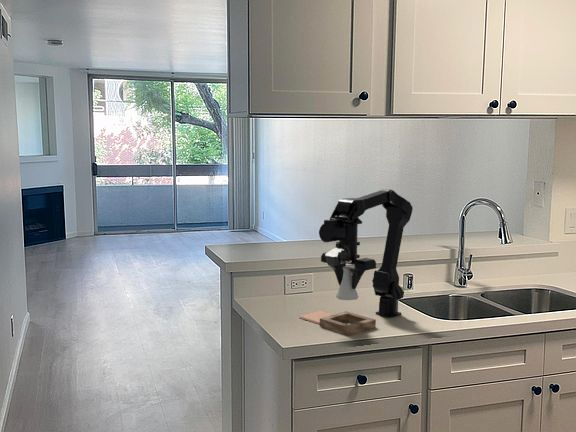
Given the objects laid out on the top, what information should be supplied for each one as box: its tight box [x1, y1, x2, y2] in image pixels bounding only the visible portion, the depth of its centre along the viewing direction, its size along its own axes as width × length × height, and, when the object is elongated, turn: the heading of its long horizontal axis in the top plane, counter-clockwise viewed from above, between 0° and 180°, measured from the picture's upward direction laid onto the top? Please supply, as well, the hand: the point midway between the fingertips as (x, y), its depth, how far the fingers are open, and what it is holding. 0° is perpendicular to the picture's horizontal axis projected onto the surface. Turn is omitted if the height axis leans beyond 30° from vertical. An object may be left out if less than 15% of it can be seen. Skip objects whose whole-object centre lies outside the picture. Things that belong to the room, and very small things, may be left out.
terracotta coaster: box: [299, 310, 334, 325], centre depth 205 cm, size 10×10×1 cm
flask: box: [335, 265, 359, 301], centre depth 195 cm, size 7×7×10 cm
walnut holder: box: [319, 311, 377, 336], centre depth 196 cm, size 13×13×2 cm
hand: (347, 287), depth 195 cm, fingers closed on flask, 5 cm apart
